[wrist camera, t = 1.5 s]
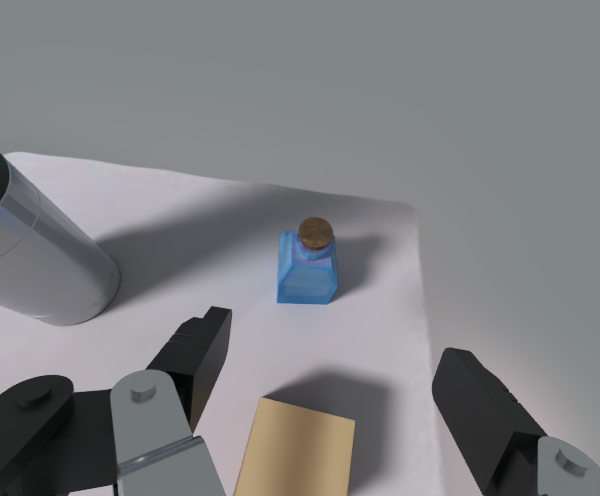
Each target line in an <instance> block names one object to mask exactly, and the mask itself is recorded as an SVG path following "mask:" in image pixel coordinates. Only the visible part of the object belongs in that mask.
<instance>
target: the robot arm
mask: <svg viewBox="0 0 600 496" xmlns="http://www.w3.org/2000/svg"><path fill="white" fill-rule="evenodd" d="M119 282H120V273H119V270H118V266H117V265H116V263H115V262H114V260H112V259H111V258H110V257H109V256H108V255H107V254H106V253H105V252H104V251H103V250H102V249H101V248H100V247H99V246H98V245H97V244H96V243H95V242H94V241H93V240H92V239H91V238H90V237H89V236H88V235H86V234H85V233H84V232H83V231H82V230H81V229H80V228H79V227H78V226H77V225H76V224H75V223H74V222H73V221H72V220H71V219H70V218H68V217H67V216H66V215H65V214H64V213H63V212H62V211H61V210H60V209H59V208H58V207H57V206H56V205H55V204H54V203H53V202H52V201H51V200H49V199H48V198H47V197H46V196H45V195H44V194H43V193H42V192H41V191H40V190H39V189H38V188H37V187H36V186H35V185H34V184H33V183H31V182H30V181H29V180H28V179H27V178H26V177H25V176H24V175H23V174H22V173H21V172H20V171H19V170H17V169H16V168H15V167H14V166H13V165H12V164H11V163H10V162H9V161H8V160H7V159H6V158H5V157H4V156H3V155H1V154H0V306H3V307H5V308H8V309H11V310H13V311H16V312H19V313H21V314H24V315H26V316H29V317H32V318H35V319H37V320H40V321H43V322H45V323H48V324H52V325H56V326H68V325H75V324H78V323H81V322H84V321H86V320H88V319H90V318H92V317H94V316H96V315H97V314H98V313H100V312H101V311H102V310H103V309H104V308H105V307H106V306H107V305H108V304H109V303H110V302H111V300H112V299H113V298H114V296H115V294H116V292H117V290H118V286H119ZM231 320H232V310H231V309H226V308H220V307H214V306H211V307H210V309H209V310H208V312H207V313H206V314H205V316H204V317H203V319H202V318H197V317H193V318H191V319H190V320H188V321H186V322H184V323H182V324H181V326H180V327H179V328H178V329H177V331H176V332H175V334H173V336H172V337H171V338H170V339H169V341H168V342H167V343H166V344H165V345H164V347H163V348H162V349H161V350H160V352H159V353H158V354H157V355H156V357H155V358H154V359H153V360H152V362H151V363H150V364H149V365H148V367H147V368H146V369H145V370H142V371H137V372H134V373H132V374H129V375H127V376H125V377H124V378H122V379H121V380H120V381H119V382H117V383H116V385H115V386H114V387H113V389H108V390H99V391H87V392H75V393H74V387H73V383H72V381H71V380H70V379H68V378H67V377H64V376H60V375H45V376H39V377H35V378H31V379H28V380H25V381H23V382H20V383H18V384H16V385H14V386H12V387H11V388H9V389H7V390H6V391H5V392H3V393H2V394H1V395H0V496H68V494H69V493H70V492H75V491H81V490H86V489H92V488H97V487H103V486H109V485H112V494H113V496H226V494H225V492H224V489H223V487H222V484H221V482H220V479H219V476H218V474H217V471H216V469H215V466H214V464H213V461H212V458H211V456H210V453H209V451H208V448H207V446H206V443H205V441H204V439H203V438H202V437H201V436H196V437H193V433H194V431H195V429H196V426H197V424H198V422H199V419H200V417H201V415H202V413H203V410H204V408H205V406H206V403H207V401H208V399H209V397H210V394H211V392H212V390H213V387H214V385H215V383H216V381H217V378H218V376H219V374H220V371H221V369H222V367H223V365H224V362H225V359H226V356H227V351H228V346H229V337H230V329H231ZM432 395H433V399H434V401H435V403H436V405H437V407H438V409H439V411H440V413H441V415H442V417H443V419H444V421H445V422H446V424H447V426H448V428H449V430H450V432H451V434H452V436H453V438H454V440H455V442H456V444H457V446H458V448H459V450H460V452H461V453H462V455H463V457H464V459H465V461H466V463H467V465H468V467H469V469H470V471H471V473H472V475H473V477H474V479H475V481H476V483H477V485H478V487H479V489H480V491H481V492H482V494H483V495H484V496H600V467H599V466H598V465H597V464H596V463H595V462H594V461H593V460H592V459H591V458H589V457H588V456H587V455H586V454H584V453H583V452H582V451H580V450H579V449H577V448H576V447H574V446H572V445H570V444H569V443H566V442H564V441H562V440H560V439H557V438H553V437H549V436H548V435H547V434H546V433H545V432H544V430H543V429H542V428H541V427H540V426H539V425H538V424H537V422H536V421H535V420H534V419H533V418H532V417H531V415H530V414H529V413H528V412H527V411H526V410H525V408H523V406H522V405H521V404H520V403H518V401H517V399H516V398H515V397H514V396H513V395H512V393H509V390H508V389H507V388H506V387H505V385H504V384H503V383H502V382H501V381H500V380H499V379H498V378H497V377H496V376H495V375H493V374H492V373H491V372H489V371H488V370H487V369H485V368H484V367H483V365H482V364H481V363H480V362H479V361H478V359H477V358H476V357H475V356H474V355H473V354H472V353H471V352H470V351H467V350H461V349H454V348H446V349H445V350H444V352H443V354H442V357H441V360H440V363H439V365H438V368H437V371H436V374H435V376H434V379H433V383H432Z"/></svg>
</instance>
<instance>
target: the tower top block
mask: <svg viewBox="0 0 600 496" xmlns="http://www.w3.org/2000/svg"><path fill="white" fill-rule="evenodd" d="M354 427H355V420H351V419H347V418H343V417H339V416H335V415H331V414H327V413H323V412H319V411H315V410H311V409H307V408H303V407H299V406H295V405H291V404H287V403H283V402H279V401H275V400H271V399H267V398H263V397H260V399H259V403H258V407H257V411H256V415H255V419H254V423H253V427H252V431H251V434H250V438H249V442H248V446H247V450H246V454H245V458H244V462H243V466H242V470H241V474H240V478H239V482H238V486H237V490H236V493H235V496H347V491H348V482H349V473H350V464H351V455H352V446H353V437H354Z"/></svg>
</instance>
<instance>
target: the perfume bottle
mask: <svg viewBox="0 0 600 496" xmlns="http://www.w3.org/2000/svg"><path fill="white" fill-rule="evenodd" d="M337 288H338V281H337V266H336V251H335V236H334V235H333V230H332V227H331V225H330V224H329V223H328V222H327V221H326V220H324V219H322V218H318V217H310V218H308V219H305V220H304V221H303V222H302V223H301V225H300V227H299V230H298V231H287V232H283V233H280V243H279V255H278V281H277V303H293V304H328V302H329V301H330V299H331V297H332V296H333V294H334V292H335V291H336V289H337Z"/></svg>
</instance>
